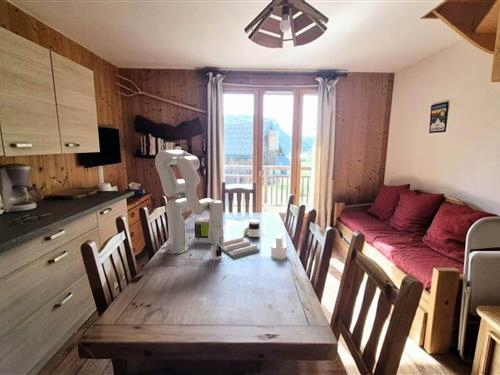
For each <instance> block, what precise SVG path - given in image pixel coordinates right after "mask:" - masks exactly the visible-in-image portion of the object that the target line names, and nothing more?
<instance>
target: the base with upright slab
mask: <svg viewBox="0 0 500 375" xmlns="http://www.w3.org/2000/svg"><path fill="white" fill-rule="evenodd" d="M270 249H271V250H270V251H271V252H270V254H271V256H270V257H272V258H273V259H276V260H284V259H286V258H287V256H288V245H287V244H286V243H283V233H282V232H277V234H276V237H275V242H274V243H272V244H271V248H270Z"/></svg>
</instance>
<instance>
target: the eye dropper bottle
mask: <svg viewBox="0 0 500 375" xmlns="http://www.w3.org/2000/svg"><path fill="white" fill-rule="evenodd" d="M219 246H220V245H218V247H219ZM210 247H211V250H210V252H211V254H210V255H211V256H210V257H211V260H212V261H219V260H221V259H223V258H222V257H223V255H222V256H218V257H216V250H217V248H216V245H212V246H211V245H210Z"/></svg>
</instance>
